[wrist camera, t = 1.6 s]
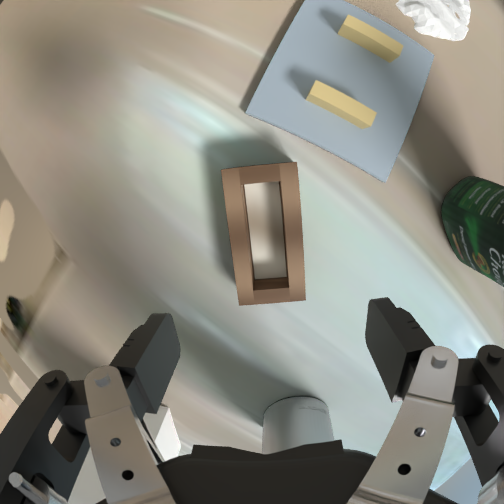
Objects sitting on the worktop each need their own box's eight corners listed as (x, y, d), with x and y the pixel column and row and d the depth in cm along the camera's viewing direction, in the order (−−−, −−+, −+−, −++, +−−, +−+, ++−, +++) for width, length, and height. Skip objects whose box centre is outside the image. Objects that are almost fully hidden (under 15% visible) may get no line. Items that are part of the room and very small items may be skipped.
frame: (302, 286, 28) (305, 300, 25) (242, 291, 28) (239, 305, 25) (293, 162, 24) (296, 162, 21) (226, 168, 24) (221, 169, 22)
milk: (120, 432, 39) (73, 540, 15) (100, 392, 36) (31, 516, 11) (181, 446, 39) (148, 570, 14) (168, 407, 35) (117, 560, 10)
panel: (382, 181, 24) (396, 185, 21) (245, 114, 23) (243, 107, 20) (430, 57, 19) (446, 49, 16) (311, -9, 18) (315, -25, 15)
